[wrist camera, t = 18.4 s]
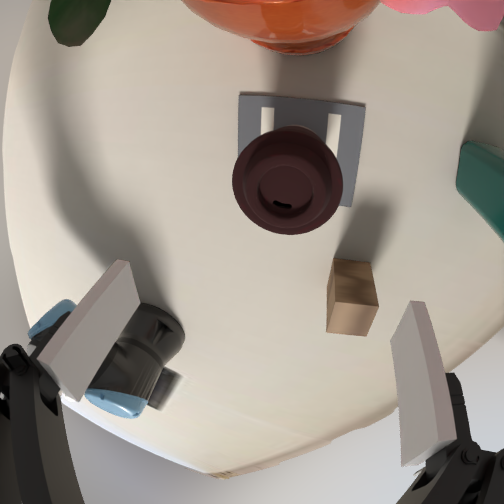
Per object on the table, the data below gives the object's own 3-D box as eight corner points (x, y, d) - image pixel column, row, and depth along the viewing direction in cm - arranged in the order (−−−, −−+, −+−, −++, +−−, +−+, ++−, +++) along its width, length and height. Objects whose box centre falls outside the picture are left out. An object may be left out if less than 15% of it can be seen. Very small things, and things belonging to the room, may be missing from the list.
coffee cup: (297, 98, 32) (286, 108, 20) (349, 156, 35) (368, 201, 23) (242, 148, 37) (204, 188, 25) (293, 200, 40) (282, 262, 28)
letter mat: (238, 192, 41) (237, 193, 41) (239, 95, 34) (238, 95, 33) (350, 206, 39) (351, 207, 39) (365, 107, 31) (365, 107, 31)
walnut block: (326, 287, 48) (326, 332, 39) (333, 257, 44) (335, 301, 36) (361, 291, 47) (366, 336, 39) (370, 262, 43) (378, 306, 35)
